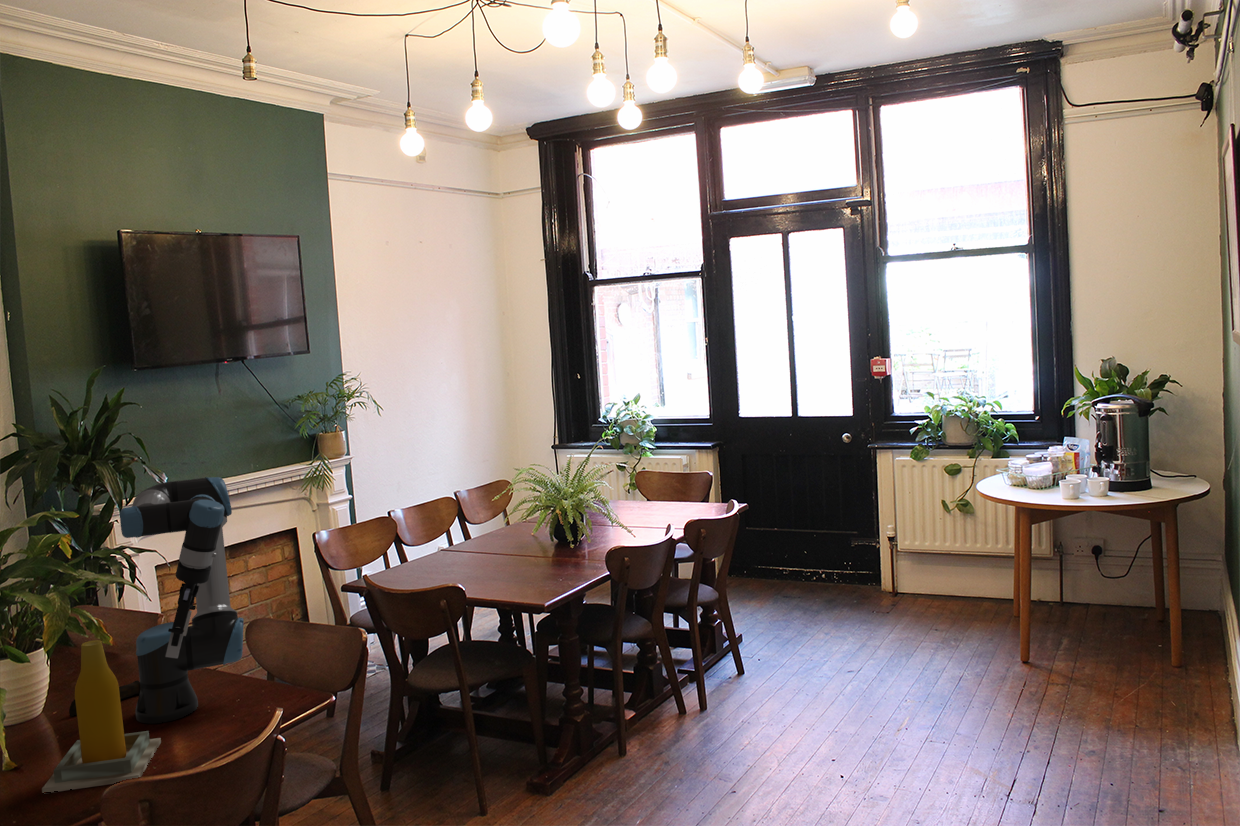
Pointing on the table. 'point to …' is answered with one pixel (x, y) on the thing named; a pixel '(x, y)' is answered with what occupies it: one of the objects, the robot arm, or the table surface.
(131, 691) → the hand tool
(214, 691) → the table surface
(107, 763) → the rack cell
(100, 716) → the beer bottle
